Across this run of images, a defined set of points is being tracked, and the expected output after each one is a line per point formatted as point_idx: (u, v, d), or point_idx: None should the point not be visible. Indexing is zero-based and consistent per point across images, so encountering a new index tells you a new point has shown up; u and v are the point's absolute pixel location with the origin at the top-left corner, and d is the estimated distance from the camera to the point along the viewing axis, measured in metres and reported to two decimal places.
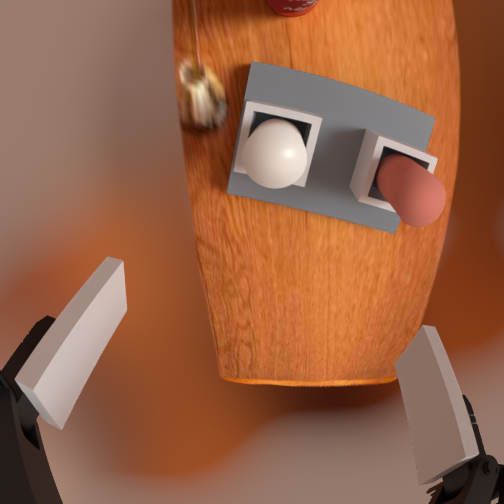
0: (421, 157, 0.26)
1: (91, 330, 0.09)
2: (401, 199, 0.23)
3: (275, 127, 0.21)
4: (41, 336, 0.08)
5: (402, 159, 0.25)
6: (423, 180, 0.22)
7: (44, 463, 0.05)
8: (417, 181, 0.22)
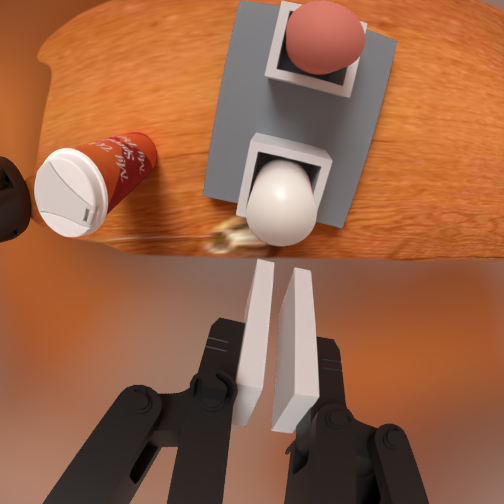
0: (284, 21, 0.19)
1: None
2: (328, 62, 0.15)
3: (247, 213, 0.21)
4: (224, 338, 0.10)
5: (287, 49, 0.19)
6: (297, 34, 0.15)
7: None
8: (300, 42, 0.15)
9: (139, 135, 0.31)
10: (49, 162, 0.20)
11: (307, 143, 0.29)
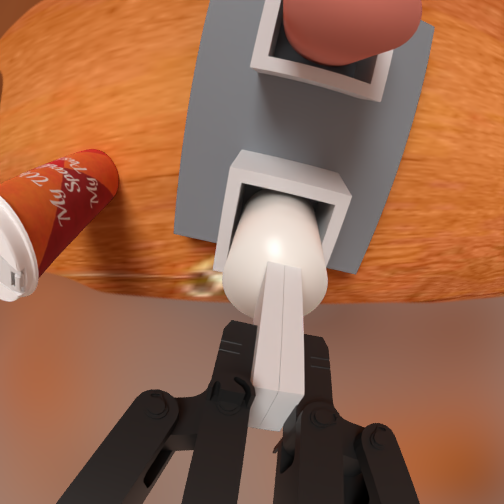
0: None
1: None
2: (360, 39, 0.08)
3: (224, 280, 0.14)
4: (237, 341, 0.10)
5: (284, 23, 0.11)
6: None
7: None
8: (308, 3, 0.07)
9: (94, 154, 0.23)
10: None
11: (313, 164, 0.21)
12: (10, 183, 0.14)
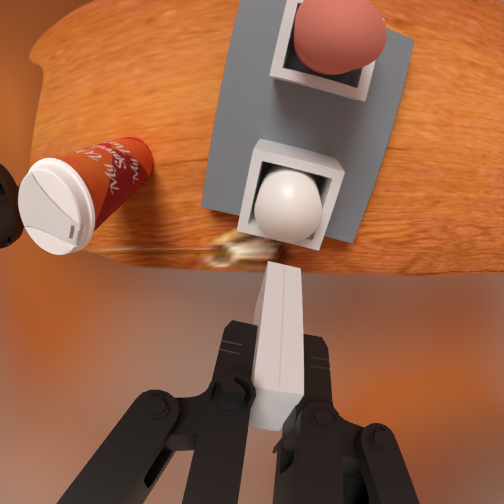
0: (291, 14, 0.16)
1: None
2: (344, 60, 0.13)
3: (255, 209, 0.22)
4: (238, 341, 0.10)
5: (295, 45, 0.16)
6: (308, 27, 0.12)
7: None
8: (311, 36, 0.12)
9: (133, 140, 0.29)
10: (32, 174, 0.17)
11: (316, 151, 0.26)
12: (70, 156, 0.20)
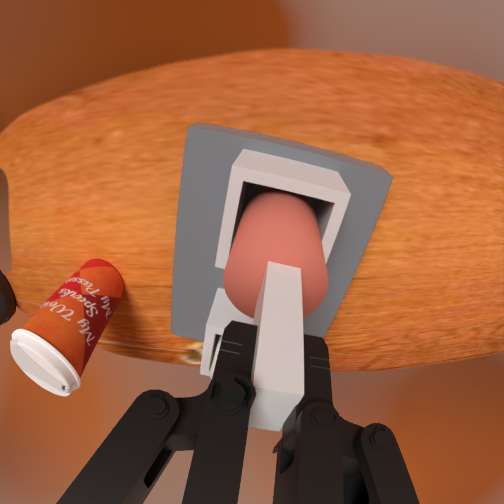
0: (235, 198, 0.18)
1: None
2: None
3: (211, 375, 0.24)
4: (238, 341, 0.10)
5: None
6: (237, 286, 0.15)
7: None
8: (241, 295, 0.15)
9: (102, 268, 0.31)
10: (18, 345, 0.19)
11: None
12: (46, 321, 0.22)
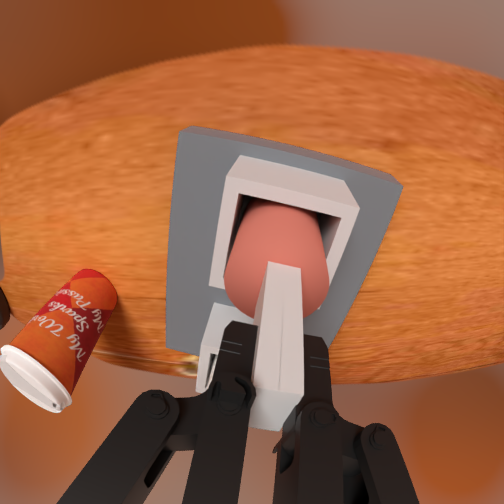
0: (230, 212, 0.16)
1: None
2: None
3: None
4: (238, 341, 0.10)
5: None
6: (238, 286, 0.14)
7: None
8: (242, 296, 0.15)
9: (93, 279, 0.29)
10: (6, 361, 0.17)
11: None
12: (35, 337, 0.20)
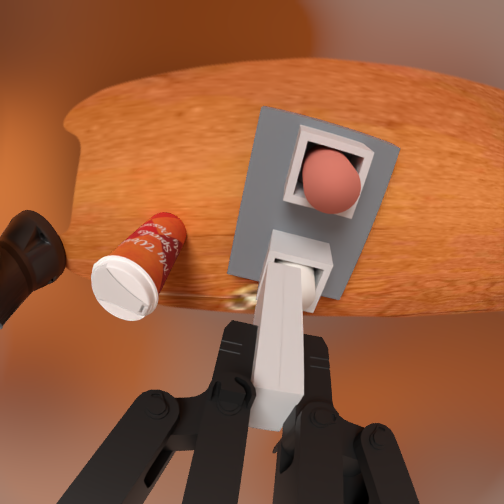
0: (302, 151, 0.27)
1: None
2: (331, 208, 0.26)
3: None
4: (238, 341, 0.10)
5: None
6: (311, 187, 0.25)
7: None
8: (313, 194, 0.25)
9: (171, 218, 0.39)
10: (106, 268, 0.28)
11: (314, 238, 0.37)
12: (132, 250, 0.31)
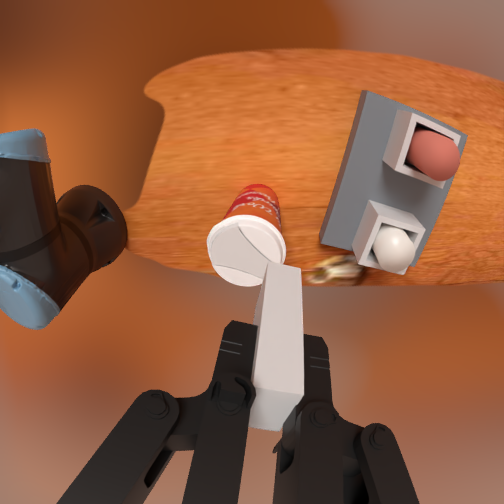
0: (412, 130, 0.28)
1: None
2: (439, 176, 0.27)
3: (379, 254, 0.34)
4: (238, 341, 0.10)
5: None
6: (427, 158, 0.26)
7: None
8: (428, 163, 0.27)
9: (268, 189, 0.41)
10: (238, 227, 0.29)
11: (401, 209, 0.38)
12: (257, 212, 0.32)
